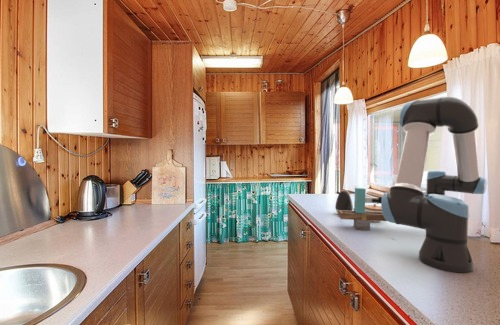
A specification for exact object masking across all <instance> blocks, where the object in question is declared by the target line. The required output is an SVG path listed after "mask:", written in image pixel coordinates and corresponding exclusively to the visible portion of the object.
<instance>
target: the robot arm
mask: <svg viewBox="0 0 500 325" xmlns="http://www.w3.org/2000/svg"><path fill="white" fill-rule="evenodd" d="M399 125H400V127H401V128H402V130H403V132H404V133H405V135H404V136H405V137H404V142H403V145H402V152H401V154H400V160H399V166H398V171H397V175H396V181H395V184H394V185H392V186H390V188H389V192H388V191H387V192H384V193H383V195H382V196H375V197H373V196H365V204H376V205H379V204H380V205H381V208H382V213H383V216H384V218H385V219H386V220H387V221H386V222H387V223H388V222H389V223H391V224H392V223H393V224H395V225H398V226H399V225H402V226H405V227H412V228H416V229H421V230H425V238H424V240H423V242H422V245H421V247H420V249H419V252H418V260H420V262H422V263H424V264H426V265H428V266H430V267H433V268H436V269H439V270H442V271H448V272H454V273H470V272H472V271H473V269H474V262H473V259H472V255H471V253H470V249H469V246H468V237H469V236H468V233H469V218H470V214H469V213H470V212H469V211H470V210H469V208H470V207H469V204H468V202H466V201H464V200H463V199H460V198H457V197H454V196H450V195H447V194H446V192H455V193H461V194H462V193H463V194H472V195H473V194H474V195H484V194H485V193H486V191H487V179H486V178H485V177H482V176H480V170H479V168H480V167H479V155H478V145H477V135H476V132H477V130H478V129H479V118H478V116H477V113H476V112H475V110H474V109H473V107H472V106H471V105H469V104H468V103H467V102H466V101H464V100H463V99H460V98H458V97H453V96H443V97H437V98H428V99H421V100H419V99H416V100H413V101H408V102H406V103H405V104H404V105H403V106H402V108H401V110H400V114H399ZM439 127H441V128H442V127H446V128H447V131H448V132H449V133H450V134H451V138H452V139H451V141H452V146H453V155H454V160H455V161H454V162H455V169H456V175H451V174H447V172H446V171H445V170H432V169H431V170H428V171H427V173H426V174H427V175H426V192H425V193H426V194H425V193H424V191H423V190H422V189H421V187H422V183H423V182H422V181H423V176H424V170H425V164H426V161H427V160H426V159H427V154H428V149H429V144H430V138H431V136H433V134H435V133H436V129H437V128H439Z"/></svg>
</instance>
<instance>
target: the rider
mask: <svg viewBox="0 0 500 325" xmlns="http://www.w3.org/2000/svg"><path fill="white" fill-rule="evenodd" d="M365 197H366V188H364V187H354V205H353V211H355V213H366V211H365V206H366V203H365Z"/></svg>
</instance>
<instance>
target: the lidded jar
mask: <svg viewBox="0 0 500 325" xmlns="http://www.w3.org/2000/svg"><path fill="white" fill-rule="evenodd" d="M365 211H373V212H382V208H381V206H380V205H377V203H373V205H372V204H368V205H366V204H365ZM372 221H373V220H370V222H372ZM380 222H381V221H373V223H380Z"/></svg>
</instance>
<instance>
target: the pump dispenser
mask: <svg viewBox="0 0 500 325" xmlns="http://www.w3.org/2000/svg"><path fill="white" fill-rule="evenodd" d="M336 194H338V195H337V198H336V202H335V207H334V208H335V210H336V213H337V214H338V210H348V211H354V205H353V199H352V196H351V194H350V192H349V191H348V190H346V189H343V190H340V191H336Z"/></svg>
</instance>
